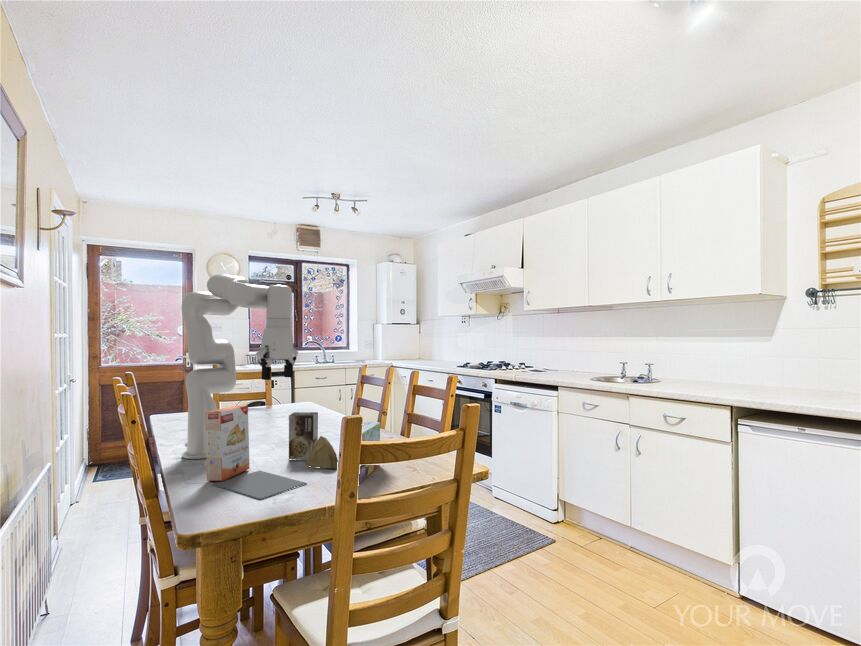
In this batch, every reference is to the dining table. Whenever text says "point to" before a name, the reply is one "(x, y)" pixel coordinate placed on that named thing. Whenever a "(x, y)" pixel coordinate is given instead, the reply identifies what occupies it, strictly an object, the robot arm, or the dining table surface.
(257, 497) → the mat
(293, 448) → the coffee box
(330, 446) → the rock
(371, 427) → the snack box
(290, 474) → the dining table surface
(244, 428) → the cracker box
